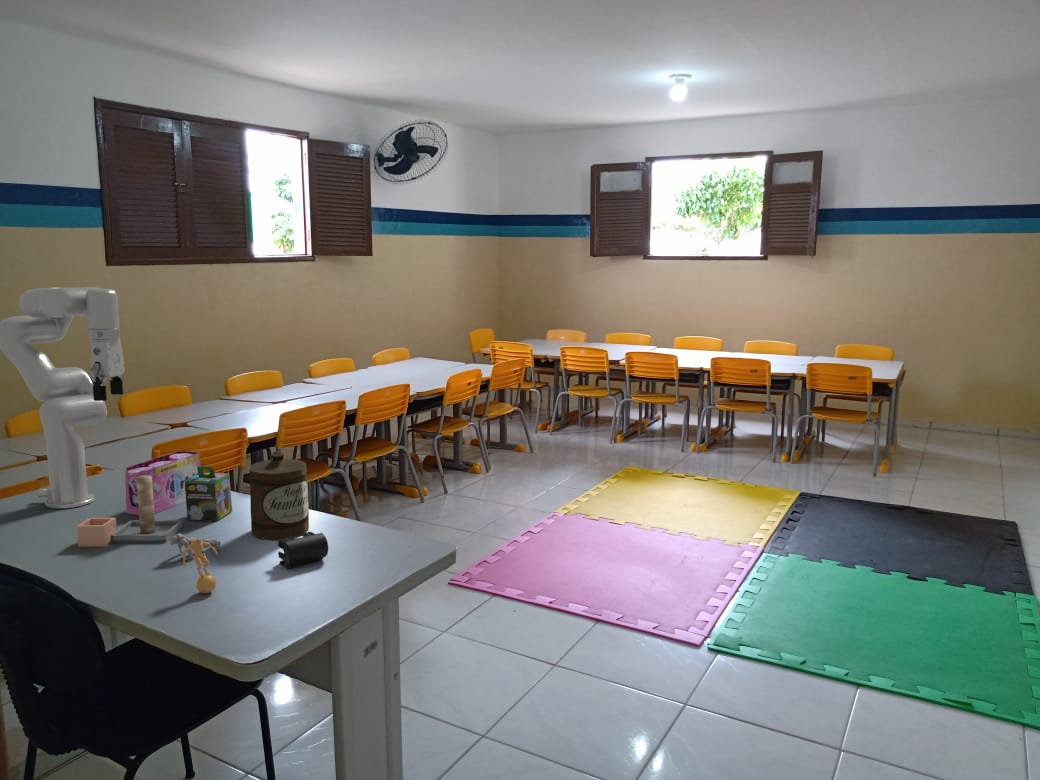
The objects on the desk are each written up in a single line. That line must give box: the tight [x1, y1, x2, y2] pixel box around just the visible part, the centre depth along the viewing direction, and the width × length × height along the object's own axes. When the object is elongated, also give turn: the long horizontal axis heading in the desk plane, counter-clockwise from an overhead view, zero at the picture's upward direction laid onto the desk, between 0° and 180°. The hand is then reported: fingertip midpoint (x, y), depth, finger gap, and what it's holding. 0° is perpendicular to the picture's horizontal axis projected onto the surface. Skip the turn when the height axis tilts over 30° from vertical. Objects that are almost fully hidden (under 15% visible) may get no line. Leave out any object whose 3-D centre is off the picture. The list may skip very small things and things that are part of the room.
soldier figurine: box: [169, 533, 221, 561], centre depth 191 cm, size 6×5×12 cm
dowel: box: [137, 475, 156, 534], centre depth 204 cm, size 4×4×15 cm
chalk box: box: [185, 465, 233, 522], centre depth 219 cm, size 9×9×15 cm
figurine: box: [182, 538, 219, 594], centre depth 169 cm, size 8×6×12 cm
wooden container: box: [249, 450, 310, 541], centre depth 207 cm, size 15×15×22 cm
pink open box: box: [76, 517, 118, 548], centre depth 198 cm, size 7×7×6 cm
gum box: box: [124, 450, 202, 516], centre depth 229 cm, size 24×8×14 cm, turn 163°
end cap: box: [277, 531, 329, 569], centre depth 186 cm, size 10×7×7 cm
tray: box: [110, 519, 185, 544], centre depth 205 cm, size 14×12×2 cm
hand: (108, 397), depth 213 cm, fingers open, 9 cm apart
